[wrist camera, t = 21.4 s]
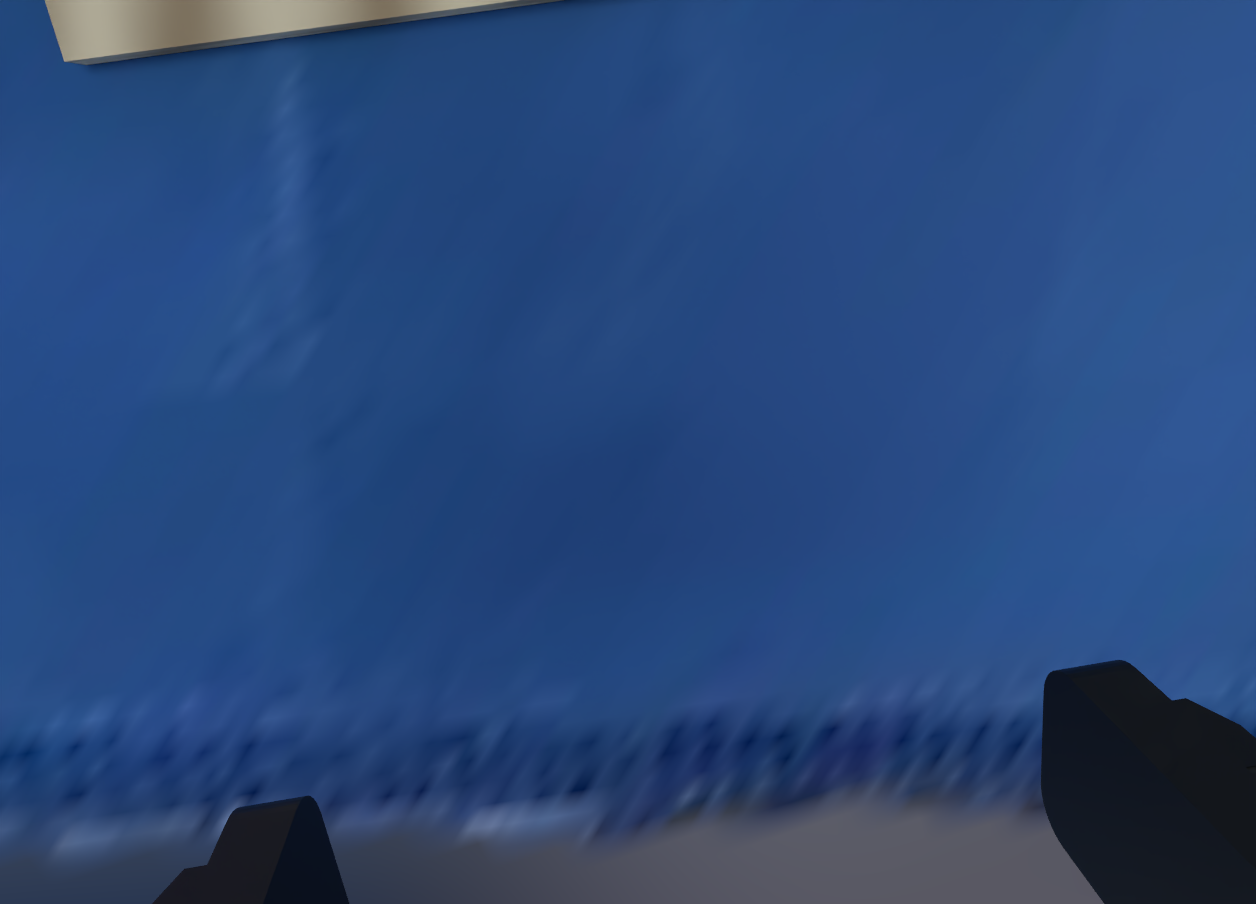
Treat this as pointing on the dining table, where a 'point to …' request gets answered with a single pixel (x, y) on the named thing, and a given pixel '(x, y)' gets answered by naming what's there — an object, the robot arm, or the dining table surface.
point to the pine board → (226, 22)
